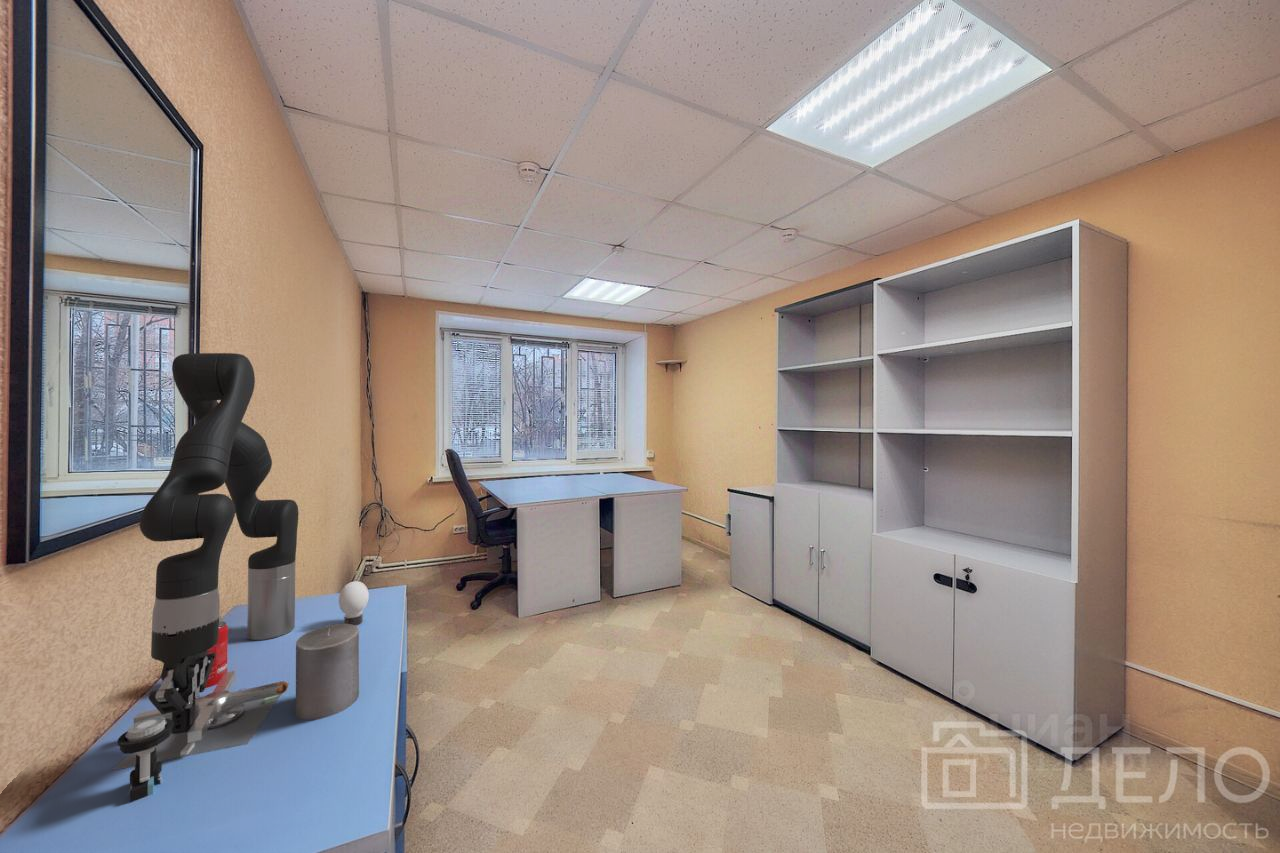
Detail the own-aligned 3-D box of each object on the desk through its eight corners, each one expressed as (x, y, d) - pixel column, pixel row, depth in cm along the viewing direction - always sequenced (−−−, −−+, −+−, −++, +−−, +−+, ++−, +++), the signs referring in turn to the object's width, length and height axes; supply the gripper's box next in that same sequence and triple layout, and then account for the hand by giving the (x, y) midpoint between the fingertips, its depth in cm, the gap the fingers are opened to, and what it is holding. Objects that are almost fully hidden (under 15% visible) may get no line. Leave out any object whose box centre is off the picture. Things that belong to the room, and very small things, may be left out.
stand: (185, 705, 83) (185, 696, 83) (289, 687, 89) (289, 679, 89) (112, 776, 66) (113, 765, 66) (247, 749, 72) (247, 739, 72)
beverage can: (204, 695, 86) (205, 633, 86) (183, 692, 87) (184, 630, 87) (233, 680, 91) (234, 622, 91) (214, 677, 92) (214, 619, 92)
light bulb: (340, 631, 113) (341, 588, 113) (336, 622, 118) (336, 581, 118) (371, 624, 117) (371, 582, 117) (365, 615, 122) (366, 575, 122)
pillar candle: (317, 693, 87) (317, 617, 87) (369, 691, 88) (369, 616, 88) (281, 727, 77) (281, 642, 77) (340, 724, 78) (340, 640, 78)
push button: (121, 787, 64) (121, 718, 64) (174, 768, 68) (175, 703, 68) (113, 817, 59) (114, 742, 59) (171, 794, 63) (172, 724, 63)
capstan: (104, 779, 64) (105, 751, 64) (160, 706, 81) (160, 684, 81) (277, 733, 74) (278, 709, 74) (296, 677, 91) (296, 657, 91)
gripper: (181, 607, 76) (178, 710, 75) (124, 642, 63) (120, 765, 63) (237, 602, 78) (233, 701, 78) (192, 634, 66) (188, 753, 66)
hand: (183, 730), depth 70 cm, fingers closed
